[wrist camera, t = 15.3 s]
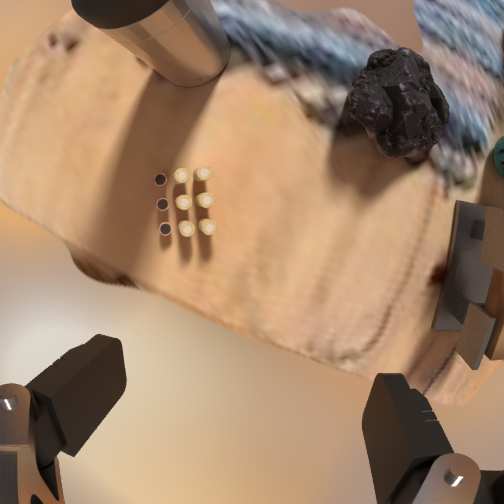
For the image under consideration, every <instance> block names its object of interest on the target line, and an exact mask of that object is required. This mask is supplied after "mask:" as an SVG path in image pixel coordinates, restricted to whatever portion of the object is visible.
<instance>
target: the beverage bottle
mask: <svg viewBox="0 0 504 504" xmlns="http://www.w3.org/2000/svg"><path fill="white" fill-rule="evenodd" d="M494 161H495V165H496V168H497V170H498V172H499V173H500V175H501V176H502V177H503V178H504V137H502V138H500V139H499V140H498V141H497V143H496V145H495V149H494Z"/></svg>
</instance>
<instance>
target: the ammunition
mask: <svg viewBox="0 0 504 504" xmlns="http://www.w3.org/2000/svg"><path fill="white" fill-rule="evenodd" d="M211 176H212V169H211V168H210V167H209V166H207V165H202V166H200V167H198V168H197V169H196V170H195V171H194V172H193V177H194V179H195V180H196V181H199V182H201V181H206V180H208V179H210V178H211ZM189 178H190V173H189V171H188V170H187V169H185V168H179V169H178V170H176V172H175V173H174V174H173V180H174V182H175V183H177V184H182V183H185V182H187V181H188V180H189ZM166 181H167V177H166V176H165V174H163V173H159V174H157V175H156V176H155V177H154V183H155V184H156V185H157V186H163V185H164V184H165V183H166ZM195 201H196V204H197V205H198V206H200V207H203V208H210V207H212V206H213V204H214V202H215V198H214V196H213V195H212V194H211V193H208V192H206V193H200V194H198V195H197V196H196V199H195ZM175 204H176V206H177V207H178V208H179V209H181V210H188V209H189V208H190V207H191V206H192V199H191V197H190V196H188V195H180V196H178V197H177V198H176V200H175ZM156 205H157V208H158V209H159V210H161V211H165V210H166V209H168V207H169V201H168V200H167V199H166V198H160V199H159V200H158V201H157V203H156ZM198 228H199V230H200V231H202V232H203V233H204V234H206V235H209V236H211V235H213V234H215V233H216V231H217V224H216V223H215V222H214V221H213V220H210V219H207V218H203V219H201V220H200V221H199V223H198ZM178 230H179V231H180V233H181V234H182V235H183V236H184V237H190V236H192V235H193V234H194V232H195V227H194V225H193V224H192V223H191V222H189V221H188V220H182V221H180V222H179V224H178ZM159 231H160V233H161V234H162V235H169V234H170V233H171V231H172V227H171V225H170V224H169V223H168V222H163V223H161V224H160V226H159Z"/></svg>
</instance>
